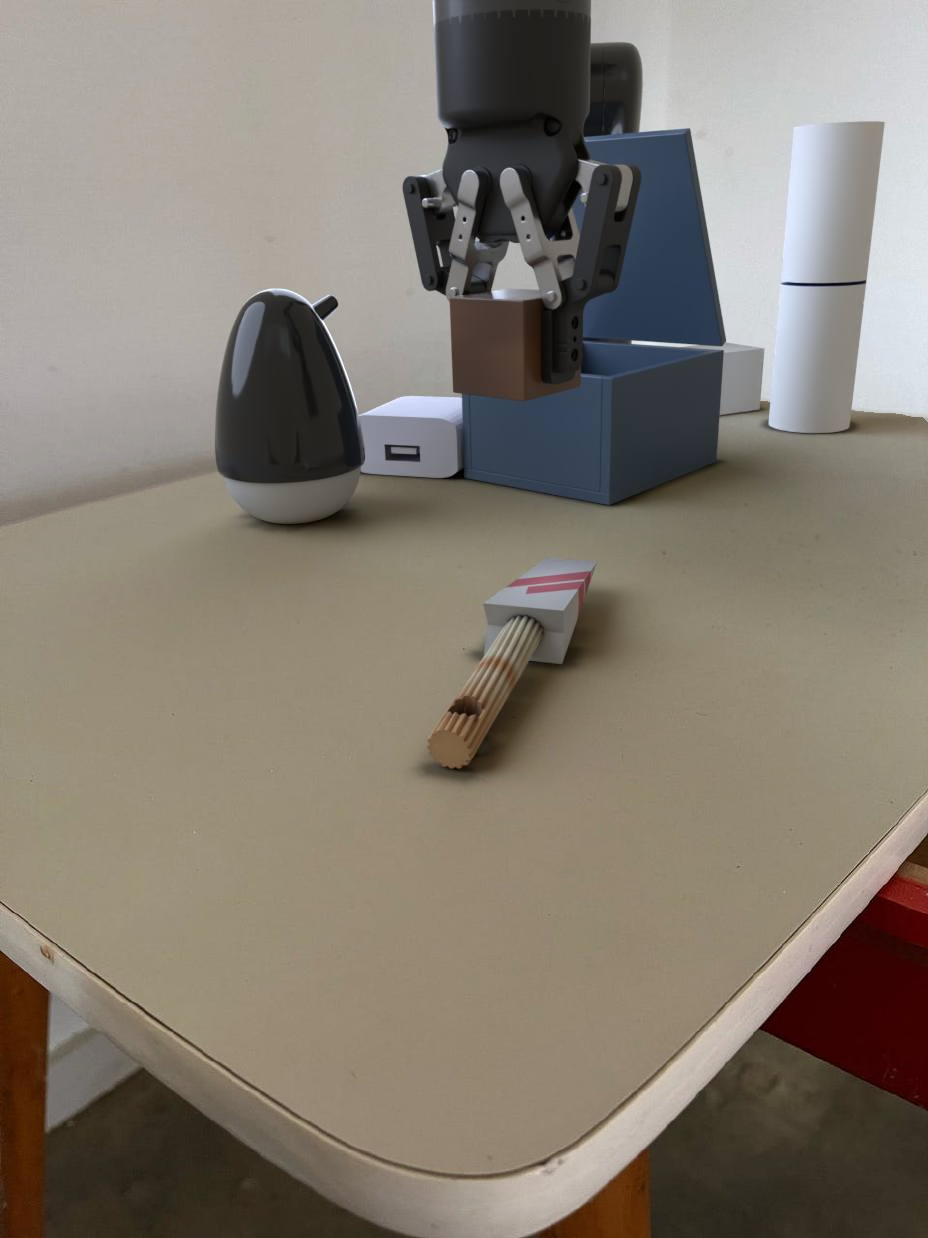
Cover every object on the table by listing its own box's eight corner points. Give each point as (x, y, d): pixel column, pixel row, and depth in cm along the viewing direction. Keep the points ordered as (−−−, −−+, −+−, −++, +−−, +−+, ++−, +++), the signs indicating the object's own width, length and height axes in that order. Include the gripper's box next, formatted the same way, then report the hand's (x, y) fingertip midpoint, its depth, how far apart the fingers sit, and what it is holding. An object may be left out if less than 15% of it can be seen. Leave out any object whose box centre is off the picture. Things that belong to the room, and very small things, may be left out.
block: (452, 392, 54) (448, 296, 52) (510, 378, 58) (508, 288, 56) (524, 402, 51) (523, 300, 49) (581, 386, 54) (582, 291, 52)
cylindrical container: (756, 428, 92) (780, 126, 82) (785, 414, 97) (811, 129, 87) (834, 436, 88) (869, 119, 78) (860, 421, 93) (895, 123, 83)
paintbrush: (608, 536, 53) (493, 725, 36) (607, 583, 54) (495, 788, 37) (538, 530, 54) (395, 711, 37) (539, 577, 55) (400, 772, 38)
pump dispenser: (400, 507, 71) (387, 283, 65) (290, 545, 64) (265, 296, 58) (304, 487, 77) (284, 281, 71) (193, 519, 70) (161, 292, 64)
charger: (514, 438, 91) (457, 479, 78) (421, 434, 94) (351, 472, 81) (514, 386, 89) (455, 418, 76) (419, 383, 92) (347, 414, 79)
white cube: (711, 416, 97) (715, 353, 95) (674, 407, 102) (677, 347, 100) (760, 409, 100) (764, 347, 97) (721, 400, 105) (724, 341, 102)
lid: (685, 132, 66) (718, 100, 68) (524, 145, 75) (558, 116, 77) (722, 346, 77) (750, 313, 79) (577, 337, 85) (606, 306, 87)
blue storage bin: (609, 505, 70) (612, 378, 66) (464, 477, 78) (460, 363, 75) (716, 461, 80) (724, 349, 77) (578, 441, 89) (580, 340, 86)
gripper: (685, 2, 45) (667, 378, 52) (452, 40, 54) (463, 358, 61) (591, -19, 40) (585, 402, 47) (351, 28, 49) (375, 376, 56)
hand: (516, 375), depth 54 cm, fingers closed on block, 5 cm apart
